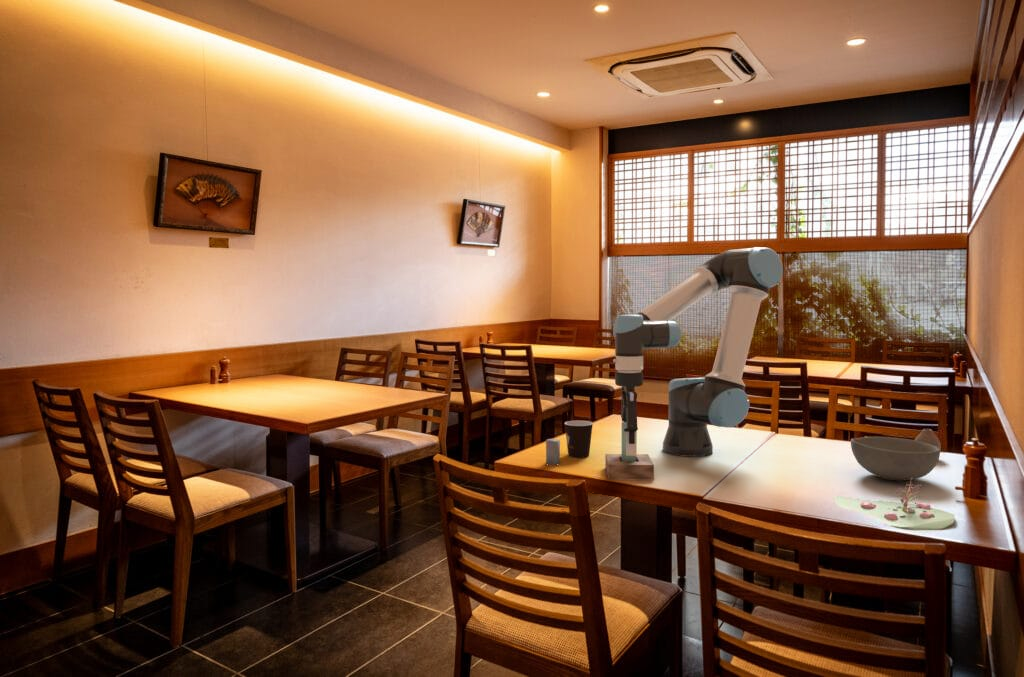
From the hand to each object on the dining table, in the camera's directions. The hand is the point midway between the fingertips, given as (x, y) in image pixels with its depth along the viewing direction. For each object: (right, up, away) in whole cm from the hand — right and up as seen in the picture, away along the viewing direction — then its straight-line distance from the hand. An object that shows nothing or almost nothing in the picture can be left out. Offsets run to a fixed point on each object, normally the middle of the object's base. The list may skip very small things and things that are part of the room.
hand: (628, 450), depth 186 cm
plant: (+53, -9, -33) cm, 63 cm away
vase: (+90, -5, +13) cm, 91 cm away
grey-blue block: (-20, -6, +12) cm, 24 cm away
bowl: (+69, -7, -7) cm, 69 cm away
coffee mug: (-11, -5, +23) cm, 26 cm away
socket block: (0, -7, 0) cm, 7 cm away
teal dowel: (0, -7, 0) cm, 7 cm away
